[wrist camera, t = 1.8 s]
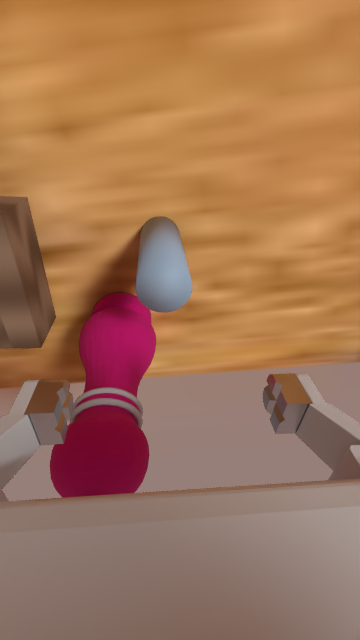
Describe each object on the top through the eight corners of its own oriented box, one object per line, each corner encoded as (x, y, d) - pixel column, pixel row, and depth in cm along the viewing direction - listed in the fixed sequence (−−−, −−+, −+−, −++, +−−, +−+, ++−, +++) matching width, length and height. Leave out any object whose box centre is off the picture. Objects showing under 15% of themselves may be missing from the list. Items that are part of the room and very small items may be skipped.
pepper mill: (104, 348, 33) (59, 567, 17) (76, 297, 29) (-20, 523, 13) (163, 333, 33) (175, 545, 16) (143, 279, 28) (132, 491, 12)
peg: (139, 215, 25) (134, 261, 17) (180, 217, 25) (194, 262, 17) (141, 254, 27) (136, 312, 19) (178, 255, 27) (190, 312, 19)
